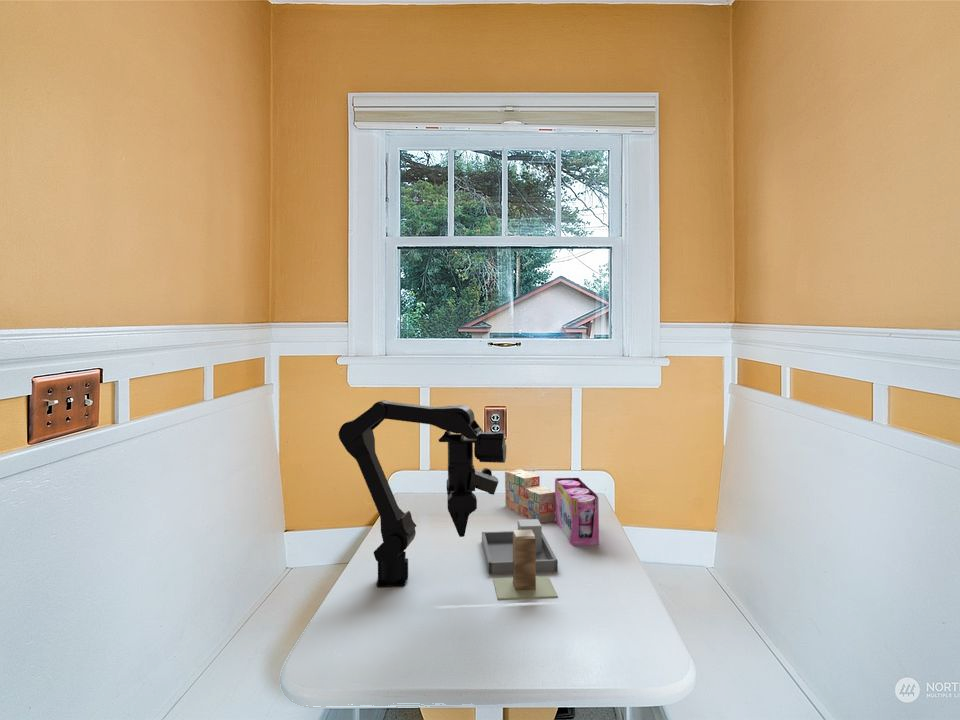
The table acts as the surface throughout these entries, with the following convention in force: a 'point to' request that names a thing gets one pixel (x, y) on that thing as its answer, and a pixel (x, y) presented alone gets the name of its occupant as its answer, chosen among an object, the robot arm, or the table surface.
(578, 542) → the gum box
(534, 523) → the grey box
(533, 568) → the walnut box
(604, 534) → the table surface
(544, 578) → the olive board
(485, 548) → the tray
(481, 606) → the table surface
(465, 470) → the robot arm
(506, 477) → the stack of blocks
